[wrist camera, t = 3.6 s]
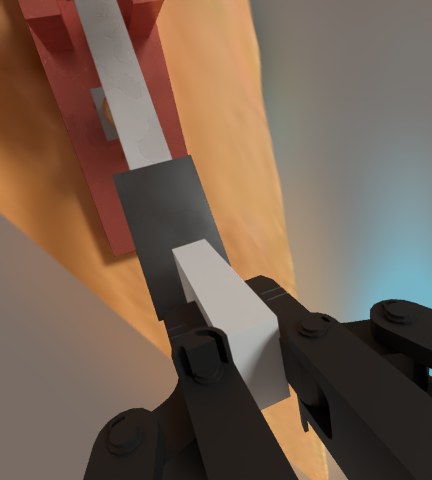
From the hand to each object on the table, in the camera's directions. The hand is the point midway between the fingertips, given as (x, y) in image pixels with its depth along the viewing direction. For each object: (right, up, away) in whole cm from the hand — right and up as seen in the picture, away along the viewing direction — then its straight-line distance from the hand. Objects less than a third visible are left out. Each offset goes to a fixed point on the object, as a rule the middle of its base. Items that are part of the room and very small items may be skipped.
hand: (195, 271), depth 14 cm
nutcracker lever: (-4, +8, +6) cm, 11 cm away
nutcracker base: (-8, +13, +16) cm, 23 cm away
